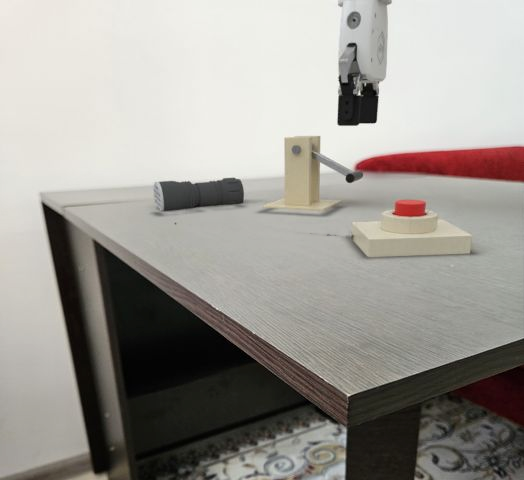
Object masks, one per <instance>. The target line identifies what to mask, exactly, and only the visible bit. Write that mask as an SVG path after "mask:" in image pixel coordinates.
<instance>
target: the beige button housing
mask: <svg viewBox="0 0 524 480" xmlns="http://www.w3.org/2000/svg"><path fill="white" fill-rule="evenodd" d="M394 211H395V208H394V209H388V210H385V211H383V212H381V213H380V220H378V221H377V220H376V221H374V220H373V221H352V222H351V236H350V238H351V240H352V241H353V242H354V243H355V245H356V246H357V247H358V248H359V249H360V250H361V251H362V252H363V254H364V255H365V256H366V257H367V258H385V257H387V258H388V257H411V256H433V255H434V256H435V255H439V256H441V255H465V254H466V255H467V254H471V249H472V241H473V234H470V233H469V232H467V231H465V230H463V229H462V228H460V227H457V226H456V225H454V224H452V223H451V222H448V221H446V220H444V219H443V218H439V213H437V212H435V211H433V210H428V209H425V216H420V217H405V216H397V215H394Z"/></svg>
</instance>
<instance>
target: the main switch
mask: <svg viewBox="0 0 524 480" xmlns="http://www.w3.org/2000/svg"><path fill="white" fill-rule="evenodd" d="M314 146H315V145H314V144H313V143H312V157H311V158H313V159H315V160H317V161H319V162H320V164H322V165H324V166H326V167H327V168H330V169H331V170H333V171H334V172H337V173H339V174H341V175H343V176H344V177H345V181H346V182H347V183H348V184H352V183H354V182H357V181H360V180H361V179H363V177H364V172H363V171H362V170H360V169H357V170H355V171H353V170H351V169H349V168H348V167H346V166H344V165H342V164H340V163H339V162H337V161H335V160H333V159H331V158H329V157H327V156H326V155H324V154H322V153H321V152H320V153H318V152H316V151H314V150H313V148H314Z"/></svg>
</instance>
